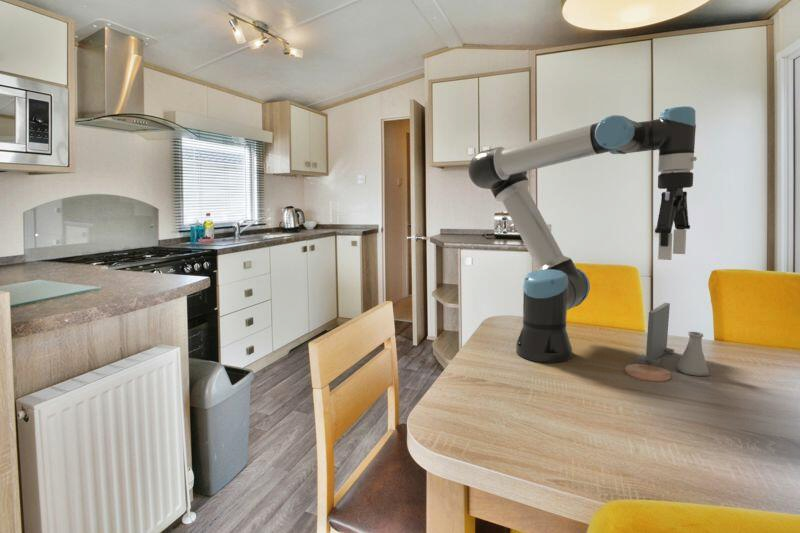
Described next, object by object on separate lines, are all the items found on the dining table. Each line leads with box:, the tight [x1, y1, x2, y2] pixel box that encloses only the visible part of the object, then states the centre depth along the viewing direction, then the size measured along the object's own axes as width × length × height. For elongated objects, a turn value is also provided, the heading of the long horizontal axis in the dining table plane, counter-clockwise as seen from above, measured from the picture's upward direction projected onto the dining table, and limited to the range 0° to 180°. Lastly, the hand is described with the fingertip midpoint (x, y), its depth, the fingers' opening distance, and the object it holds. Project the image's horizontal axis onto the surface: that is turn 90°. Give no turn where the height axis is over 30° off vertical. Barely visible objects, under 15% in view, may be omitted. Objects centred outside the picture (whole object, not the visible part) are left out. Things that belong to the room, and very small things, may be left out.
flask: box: [676, 331, 711, 377], centre depth 111 cm, size 7×7×10 cm
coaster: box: [624, 363, 672, 383], centre depth 111 cm, size 10×10×1 cm
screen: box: [637, 302, 675, 367], centre depth 121 cm, size 5×14×14 cm, turn 135°
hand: (672, 256), depth 114 cm, fingers open, 13 cm apart
